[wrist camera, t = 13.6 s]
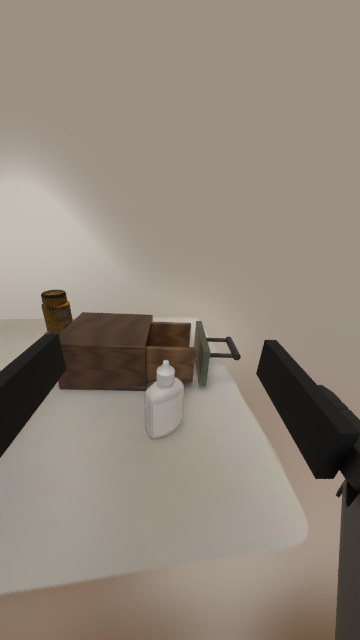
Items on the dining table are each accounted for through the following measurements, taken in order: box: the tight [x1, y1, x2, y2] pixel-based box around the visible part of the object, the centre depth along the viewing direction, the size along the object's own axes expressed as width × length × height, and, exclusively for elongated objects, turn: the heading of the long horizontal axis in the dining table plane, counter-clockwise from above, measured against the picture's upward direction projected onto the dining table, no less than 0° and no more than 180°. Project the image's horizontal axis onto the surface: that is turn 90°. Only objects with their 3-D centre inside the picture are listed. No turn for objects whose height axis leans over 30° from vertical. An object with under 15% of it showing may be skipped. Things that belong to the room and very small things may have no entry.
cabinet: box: [58, 312, 153, 391], centre depth 42 cm, size 16×14×10 cm
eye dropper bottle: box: [145, 360, 184, 438], centre depth 29 cm, size 4×6×12 cm
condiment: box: [41, 290, 73, 334], centre depth 51 cm, size 7×8×12 cm
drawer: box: [145, 321, 241, 386], centre depth 42 cm, size 21×12×8 cm, turn 92°
